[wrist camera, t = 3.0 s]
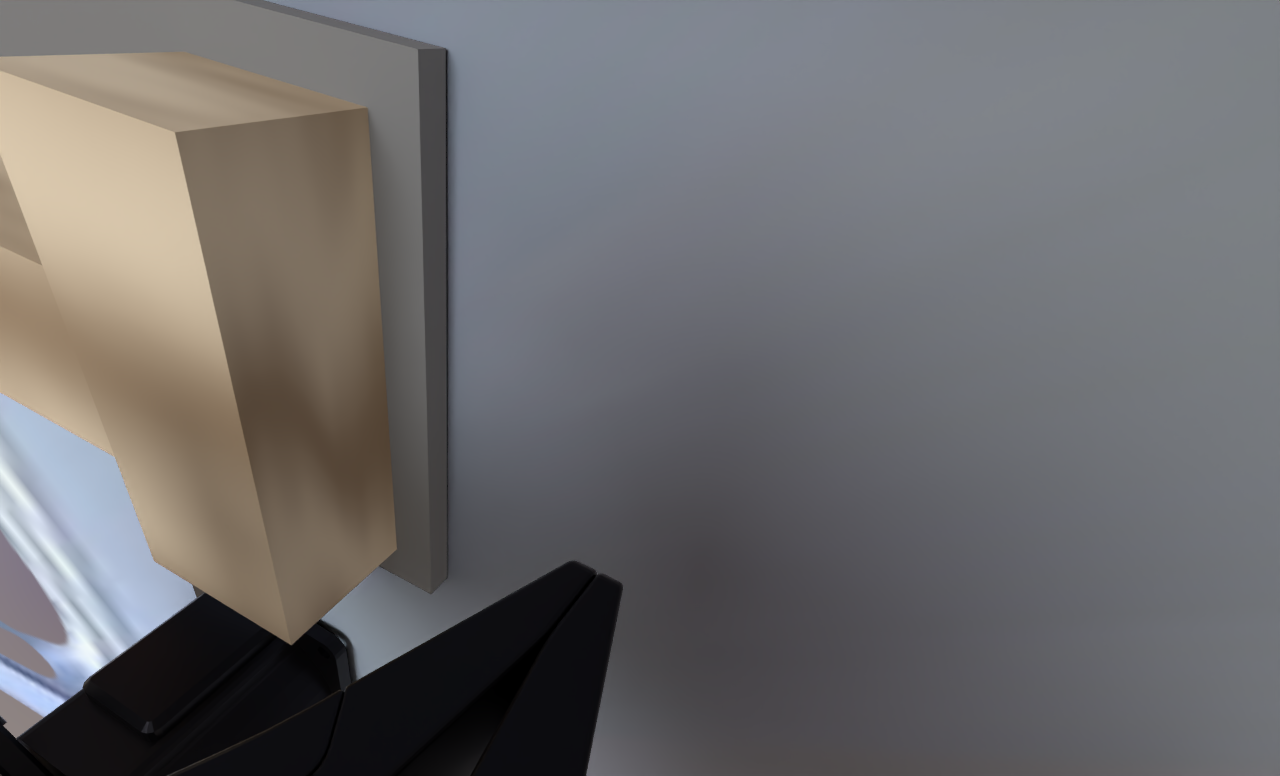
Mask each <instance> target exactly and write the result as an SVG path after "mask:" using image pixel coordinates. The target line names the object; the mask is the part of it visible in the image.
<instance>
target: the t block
mask: <svg viewBox="0 0 1280 776" xmlns="http://www.w3.org/2000/svg"><path fill="white" fill-rule="evenodd" d="M0 393H2V394H4V395H6V396H8V397H9V398H11V399H13V400H15V401H16V402H18V403H20V404H22V405H23V406H25V407H27V408H29V409H31V410H32V411H34V412H36V413H38V414H39V415H41V416H43V417H45V418H47V419H48V420H50V421H52V422H54V423H55V424H57V425H59V426H61V427H62V428H64V429H66V430H68V431H70V432H71V433H73V434H75V435H77V436H78V437H80V438H82V439H84V440H85V441H87V442H89V443H91V444H93V445H94V446H96V447H98V448H100V449H101V450H103V451H105V452H107V453H109V454H110V455H112V456H114V457H115V459H116V461H117V464H118V467H119V469H120V472H121V475H122V477H123V480H124V482H125V485H126V488H127V490H128V493H129V496H130V498H131V501H132V504H133V506H134V509H135V512H136V514H137V517H138V519H139V522H140V525H141V527H142V530H143V533H144V535H145V538H146V541H147V543H148V546H149V549H150V551H151V554H152V556H153V559H154V561H155V562H156V563H158V564H160V565H161V566H163V567H165V568H166V569H168V570H170V571H171V572H173V573H174V574H176V575H178V576H179V577H181V578H183V579H184V580H186V581H187V582H189V583H191V584H192V585H194V586H196V587H197V588H199V589H200V590H202V591H204V592H205V593H207V594H209V595H210V596H212V597H214V598H215V599H217V600H218V601H220V602H222V603H223V604H225V605H227V606H228V607H230V608H231V609H233V610H235V611H236V612H238V613H240V614H241V615H243V616H245V617H246V618H248V619H249V620H251V621H253V622H254V623H256V624H258V625H259V626H261V627H262V628H264V629H266V630H267V631H269V632H271V633H272V634H274V635H276V636H277V637H279V638H280V639H282V640H284V641H285V642H287V643H289V644H290V645H292V644H293V643H294V642H295V641H297V640H298V639H299V638H300V637H301V636H302V635H303V634H304V633H305V632H306V631H308V630H309V629H310V628H311V627H312V626H313V625H314V624H315V623H316V622H317V621H319V620H320V619H321V618H322V617H323V616H324V615H325V614H326V613H327V612H328V611H330V610H331V609H332V608H333V607H334V606H335V605H336V604H337V603H338V602H339V601H341V600H342V599H343V598H344V597H345V596H346V595H347V594H348V593H349V592H350V591H352V590H353V589H354V588H355V587H356V586H357V585H358V584H359V583H360V582H361V581H363V580H364V579H365V578H366V577H367V576H368V575H369V574H370V573H371V572H372V571H374V570H375V569H376V568H377V567H378V566H379V565H380V564H381V563H382V562H383V561H385V560H386V559H387V558H388V557H389V556H390V555H391V554H392V553H393V552H394V551H396V550H397V543H396V528H395V513H394V498H393V483H392V467H391V452H390V437H389V422H388V407H387V392H386V377H385V362H384V347H383V332H382V317H381V302H380V287H379V272H378V257H377V242H376V227H375V212H374V196H373V181H372V166H371V151H370V136H369V121H368V107H364V106H361V105H358V104H355V103H351V102H348V101H345V100H341V99H338V98H335V97H332V96H328V95H325V94H322V93H318V92H315V91H312V90H309V89H305V88H302V87H299V86H295V85H292V84H289V83H286V82H282V81H279V80H276V79H272V78H269V77H266V76H262V75H259V74H256V73H253V72H249V71H246V70H243V69H239V68H236V67H233V66H230V65H226V64H223V63H220V62H216V61H213V60H210V59H207V58H203V57H200V56H197V55H193V54H190V53H187V52H154V53H118V54H82V55H46V56H10V57H0Z"/></svg>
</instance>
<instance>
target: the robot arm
mask: <svg viewBox="0 0 1280 776" xmlns="http://www.w3.org/2000/svg"><path fill="white" fill-rule="evenodd" d="M193 588H194V591H195V594H196V597H197V598H196V599H195V600H193V601H192V602H191V603H189V604H188V605H187V606H185V607H184V608H183V609H181V610H180V611H178V612H177V613H176V614H174V615H173V616H172V617H170V618H169V619H168V620H166V621H165V622H164V623H162V624H161V625H159V626H158V627H157V628H155V629H154V630H153V631H151V632H150V633H149V634H147V635H146V636H145V637H143V638H142V639H140V640H139V641H138V642H136V643H135V644H134V645H132V646H131V647H130V648H128V649H127V650H126V651H124V652H123V653H121V654H120V655H119V656H117V657H116V658H115V659H113V660H112V661H111V662H109V663H108V664H106V665H105V666H104V667H102V668H101V669H100V670H98V671H97V672H96V673H94V674H93V675H92V676H90V677H89V678H88V679H87V680H86V681H85V682H84V685H83V689H82V690H80V691H79V692H78V693H76V694H75V695H74V696H72V697H71V698H70V699H68V700H67V701H66V702H64V703H63V704H62V705H60V706H59V707H58V708H56V709H55V710H54V711H52V712H51V713H50V714H48V715H47V716H45V717H44V718H43V719H42V720H40V721H39V722H38V723H36V724H35V725H34V726H32V727H31V728H29V729H28V730H27V731H25V732H24V733H23V734H21V735H20V736H19V737H17V739H16V738H15V737H14V736H13V735H12V734H11V733H10V732H9V731H8V730H7V729H6V728H5V727H4V726H3V725H4V724H5V723H7V722H6V721H5V720H4V719H3V718H2V717H1V716H0V776H586V773H587V768H588V763H589V758H590V753H591V748H592V743H593V738H594V733H595V728H596V722H597V717H598V712H599V707H600V702H601V697H602V692H603V687H604V682H605V677H606V672H607V667H608V662H609V657H610V652H611V646H612V641H613V636H614V631H615V626H616V621H617V616H618V611H619V606H620V601H621V596H622V591H623V585H622V583H621V582H619V581H617V580H615V579H613V578H611V577H609V576H607V575H605V574H601V573H600V574H598V575H597V572H596V571H595V570H594V569H592V568H590V567H588V566H586V565H584V564H582V563H580V562H578V561H569V562H567V563H565V564H564V565H562V566H560V567H558V568H556V569H555V570H553V571H551V572H549V573H548V574H546V575H544V576H542V577H540V578H539V579H537V580H535V581H533V582H531V583H530V584H528V585H526V586H524V587H523V588H521V589H519V590H517V591H515V592H514V593H512V594H510V595H508V596H507V597H505V598H503V599H501V600H499V601H498V602H496V603H494V604H492V605H491V606H489V607H487V608H485V609H483V610H482V611H480V612H478V613H476V614H475V615H473V616H471V617H469V618H467V619H466V620H464V621H462V622H460V623H458V624H457V625H455V626H453V627H451V628H450V629H448V630H446V631H444V632H442V633H441V634H439V635H437V636H435V637H434V638H432V639H430V640H428V641H426V642H425V643H423V644H421V645H419V646H417V647H416V648H414V649H412V650H410V651H409V652H407V653H405V654H403V655H401V656H400V657H398V658H396V659H394V660H393V661H391V662H389V663H387V664H385V665H384V666H382V667H380V668H378V669H377V670H375V671H373V672H371V673H369V674H368V675H366V676H364V677H362V678H360V679H359V680H357V681H355V682H353V683H352V684H351V679H350V672H349V666H348V659H347V652H346V648H345V646H344V644H343V643H342V641H341V640H340V639H339V638H338V637H337V636H335V635H334V634H332V633H331V632H329V631H327V630H326V629H324V628H322V627H321V626H319V625H317V624H316V623H315V624H314V625H313V626H312V627H311V628H310V629H309V630H308V631H306V632H305V633H304V634H303V635H302V636H301V637H300V638H299V639H298V640H297V641H295V642H294V643H293V644H292V645H290V644H289V643H287V642H285V641H284V640H282V639H280V638H279V637H277V636H276V635H274V634H272V633H271V632H269V631H267V630H266V629H264V628H262V627H261V626H259V625H258V624H256V623H254V622H253V621H251V620H249V619H248V618H246V617H245V616H243V615H241V614H240V613H238V612H236V611H235V610H233V609H231V608H230V607H228V606H227V605H225V604H223V603H222V602H220V601H218V600H217V599H215V598H214V597H212V596H210V595H209V594H207V593H205V592H204V591H202V590H200V589H199V588H197V587H196V586H194V585H193Z"/></svg>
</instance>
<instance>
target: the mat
mask: <svg viewBox="0 0 1280 776" xmlns="http://www.w3.org/2000/svg"><path fill="white" fill-rule="evenodd" d="M154 52H187V53H190V54H193V55H197V56H200V57H203V58H207V59H210V60H213V61H216V62H220V63H223V64H226V65H230V66H233V67H236V68H239V69H243V70H246V71H249V72H253V73H256V74H259V75H262V76H266V77H269V78H272V79H276V80H279V81H282V82H286V83H289V84H292V85H295V86H299V87H302V88H305V89H309V90H312V91H315V92H318V93H322V94H325V95H328V96H332V97H335V98H338V99H341V100H345V101H348V102H351V103H355V104H358V105H361V106H364V107H368V121H369V136H370V151H371V166H372V181H373V196H374V212H375V227H376V242H377V257H378V272H379V287H380V302H381V317H382V332H383V347H384V362H385V377H386V392H387V407H388V422H389V437H390V452H391V467H392V483H393V498H394V513H395V528H396V543H397V550H396V551H394V552H393V553H392V554H391V555H390V556H389V557H388V558H387V559H386V560H385V561H383V562H382V563H381V564H380V565H379V566H380V567H382V568H384V569H386V570H387V571H389V572H391V573H393V574H395V575H397V576H398V577H400V578H402V579H404V580H406V581H408V582H410V583H411V584H413V585H415V586H417V587H419V588H421V589H422V590H424V591H426V592H428V593H430V594H432V593H433V592H434V591H435V590H436V589H437V588H438V587H439V586H440V585H441V584H442V583H443V582H444V580H445V579H446V578H447V329H446V48H443V47H439V46H435V45H431V44H427V43H423V42H420V41H416V40H412V39H408V38H404V37H401V36H397V35H393V34H389V33H385V32H381V31H378V30H374V29H370V28H366V27H362V26H359V25H355V24H351V23H347V22H343V21H339V20H336V19H332V18H328V17H324V16H320V15H317V14H313V13H309V12H305V11H301V10H297V9H294V8H290V7H286V6H282V5H278V4H275V3H271V2H267V1H263V0H0V57H10V56H46V55H82V54H118V53H154Z"/></svg>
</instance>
